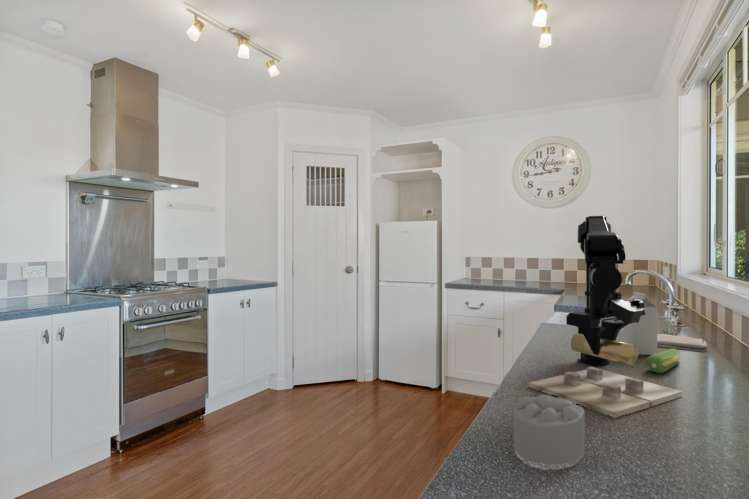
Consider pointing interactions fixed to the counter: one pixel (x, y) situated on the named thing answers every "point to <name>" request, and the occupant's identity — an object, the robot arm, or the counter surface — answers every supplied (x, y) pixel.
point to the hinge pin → (607, 349)
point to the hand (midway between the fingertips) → (602, 353)
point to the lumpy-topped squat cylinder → (549, 429)
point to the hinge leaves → (606, 391)
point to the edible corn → (663, 360)
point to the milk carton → (643, 328)
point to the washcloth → (681, 342)
